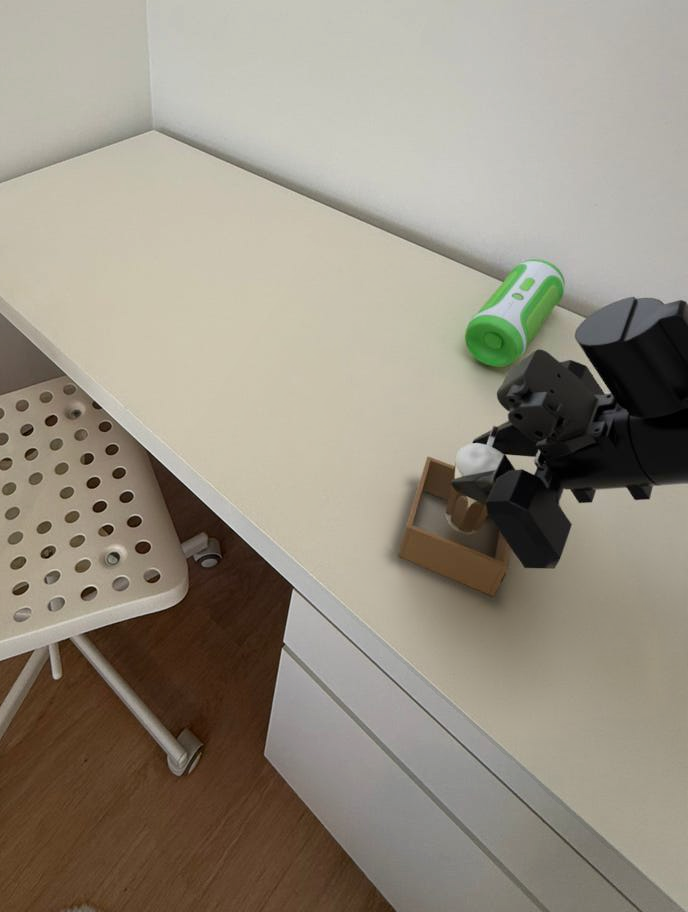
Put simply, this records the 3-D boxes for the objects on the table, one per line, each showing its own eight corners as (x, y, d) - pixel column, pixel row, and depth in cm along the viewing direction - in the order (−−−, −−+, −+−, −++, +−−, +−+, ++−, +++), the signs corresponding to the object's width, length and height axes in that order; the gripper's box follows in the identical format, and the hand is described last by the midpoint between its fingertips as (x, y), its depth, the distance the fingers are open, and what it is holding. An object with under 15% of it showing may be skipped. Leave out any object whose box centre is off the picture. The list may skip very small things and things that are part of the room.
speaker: (510, 381, 83) (528, 336, 78) (454, 354, 86) (468, 310, 82) (558, 311, 93) (576, 267, 89) (506, 289, 97) (521, 247, 92)
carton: (506, 519, 67) (520, 490, 64) (494, 597, 61) (509, 568, 58) (418, 485, 71) (427, 455, 68) (397, 555, 64) (406, 526, 61)
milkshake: (494, 504, 64) (523, 436, 58) (482, 549, 61) (511, 481, 55) (447, 484, 66) (470, 416, 60) (432, 526, 62) (455, 458, 57)
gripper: (618, 288, 53) (453, 335, 65) (556, 438, 42) (369, 463, 54) (689, 399, 54) (514, 426, 66) (649, 577, 42) (444, 571, 54)
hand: (464, 464), depth 60 cm, fingers closed on milkshake, 5 cm apart
